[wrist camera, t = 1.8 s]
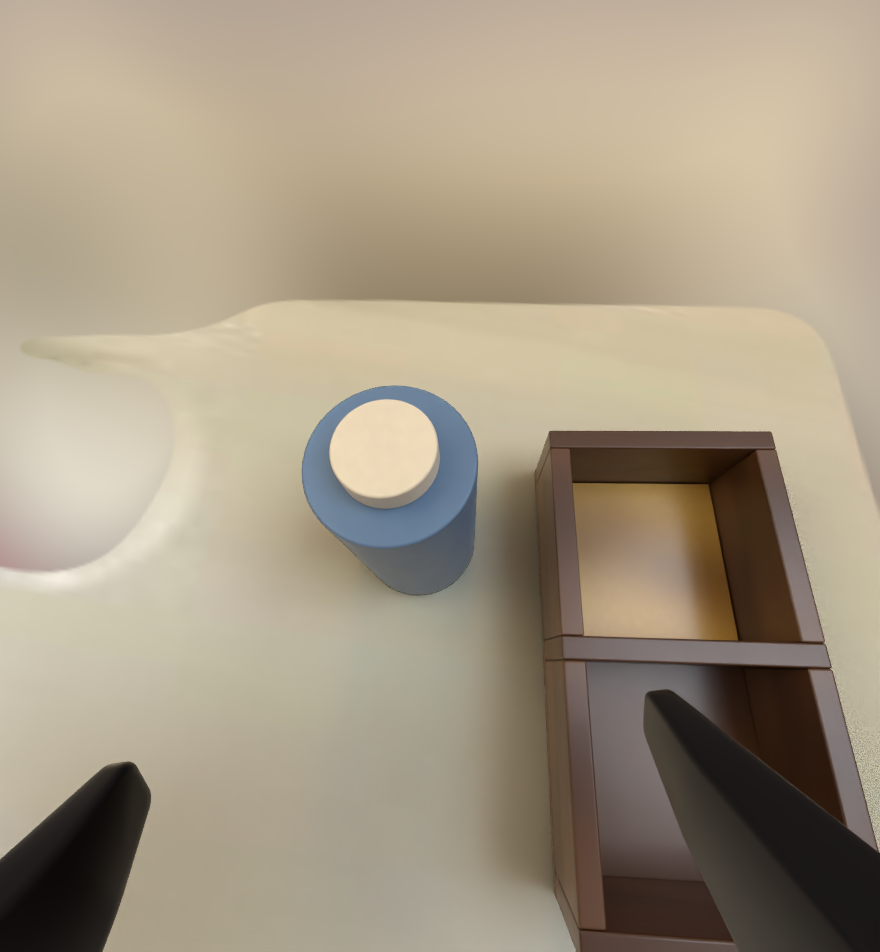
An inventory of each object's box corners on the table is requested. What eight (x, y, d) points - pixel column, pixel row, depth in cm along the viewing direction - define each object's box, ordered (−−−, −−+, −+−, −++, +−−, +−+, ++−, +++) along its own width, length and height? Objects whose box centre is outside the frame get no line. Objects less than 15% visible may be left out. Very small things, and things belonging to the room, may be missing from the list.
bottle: (473, 596, 21) (478, 541, 12) (361, 593, 22) (274, 537, 12) (474, 489, 23) (478, 364, 14) (371, 488, 24) (302, 366, 14)
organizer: (804, 910, 17) (916, 992, 13) (554, 893, 17) (581, 967, 13) (716, 473, 23) (772, 430, 19) (534, 471, 23) (549, 430, 19)
